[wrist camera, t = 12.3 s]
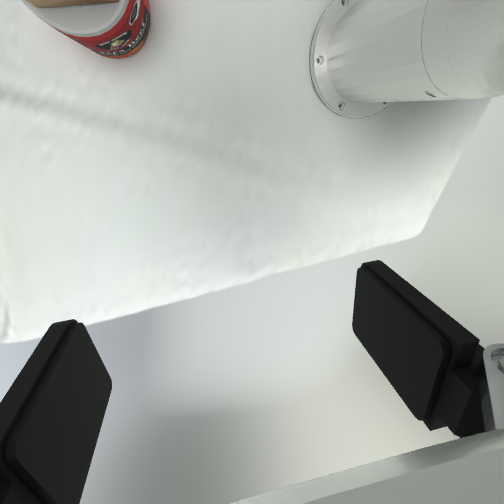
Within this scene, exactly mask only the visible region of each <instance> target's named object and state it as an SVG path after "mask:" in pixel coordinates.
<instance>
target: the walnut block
mask: <svg viewBox="0 0 504 504" xmlns="http://www.w3.org/2000/svg"><path fill="white" fill-rule="evenodd" d="M26 1H27V2H29V3H30V4H32V5H34V6H35V7H37V8H45V7H58V6H72V5H86V4H99V3H113V2H119V0H26Z"/></svg>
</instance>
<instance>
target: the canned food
mask: <svg viewBox="0 0 504 504" xmlns="http://www.w3.org/2000/svg"><path fill="white" fill-rule="evenodd" d="M21 1H22V2H23V3H24V4H25V5H26V6H27V7H28V8H29V9H30V10H31V11H32V12H33V13H34V14H36V15H37V16H38V17H39V18H40V19H41V20H43V21H44V22H46V23H47V24H48V25H50V26H51V27H53V28H55V29H56V30H57V31H59V32H61V33H63V34H64V35H66V36H68V37H70V38H71V39H73V40H75V41H77V42H78V43H80V44H82V45H84V46H85V47H87V48H89V49H90V50H92V51H94V52H96V53H98V54H100V55H102V56H105V57H109V58H124V57H128V56H130V55H132V54H134V53H135V52H136V51H138V50H139V49H140V47H141V46H142V45H143V43H144V42H145V39H146V37H147V35H148V30H149V26H150V11H149V3H148V0H119V2H113V3H99V4H86V5H72V6H58V7H45V8H37V7H35V6H34V5H32V4H30V3H29V2H27V1H26V0H21Z"/></svg>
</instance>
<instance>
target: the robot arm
mask: <svg viewBox="0 0 504 504" xmlns="http://www.w3.org/2000/svg"><path fill="white" fill-rule="evenodd" d="M342 1H343V3H344V5H342ZM316 59H318V60H319V63H318V64H317V62H316ZM310 68H311V76H312V80H313V83H314V87H315V89H316V91H317V93H318V95H319V97H320V99H321V100H322V101H323V102H324V104H325V105H326V106H327V107H328V108H330V109H331V110H332V111H333V112H335V113H337V114H339V115H342V116H346V117H357V118H359V117H366V116H369V115H372V114H375V113H377V112H379V111H380V110H382V109H384V108H385V107H386V106H388V105H389V104H390V103H391V102H403V101H431V100H460V99H482V98H490V97H495V96H499V95H503V94H504V0H334V1H333V2H332V3H331V4H330V5H329V7H328V8H327V9H326V11H325V12H324V13H323V15H322V17H321V19H320V21H319V23H318V25H317V28H316V31H315V34H314V37H313V41H312V46H311V52H310ZM339 104H340V108H339ZM352 327H353V331H354V333H355V335H356V336H357V338H358V339H359V340H360V342H361V343H362V345H363V346H364V347H365V349H366V350H367V352H368V353H369V354H370V356H371V357H372V358H373V360H374V361H375V363H376V364H377V365H378V367H379V368H380V369H381V371H382V372H383V374H384V375H385V376H386V378H387V379H388V381H389V382H390V383H391V385H392V386H393V387H394V389H395V390H396V392H397V393H398V394H399V396H400V397H401V398H402V400H403V401H404V402H405V404H406V405H407V407H408V408H409V409H410V411H411V412H412V414H413V415H414V416H415V417H416V418H417V419H418V420H420V421H421V420H423V421H424V423H425V424H426V426H427V427H428V429H429V430H430V431H432V430H435V429H439V428H442V427H446V426H448V428H449V429H450V430H451V431H452V432H453V434H454V440H453V441H449V442H445V443H441V444H438V445H433V446H429V447H426V448H422V449H418V450H415V451H411V452H408V453H404V454H401V455H397V456H394V457H390V458H387V459H383V460H379V461H376V462H373V463H369V464H366V465H362V466H358V467H355V468H351V469H348V470H344V471H341V472H337V473H334V474H330V475H326V476H323V477H319V478H316V479H312V480H309V481H305V482H302V483H299V484H295V485H292V486H288V487H285V488H281V489H278V490H274V491H271V492H267V493H264V494H260V495H257V496H254V497H250V498H246V499H243V500H240V501H236V502H233V503H230V504H504V344H493V345H490V346H487V347H486V349H484V348H483V347H482V346H481V345H479V341H480V340H479V339H478V338H477V337H475V336H474V335H473V334H472V333H471V332H469V331H468V330H467V329H466V328H464V327H463V326H462V325H461V324H459V323H458V322H457V321H455V320H454V319H453V318H452V317H450V316H449V315H448V314H447V313H445V312H444V311H443V310H442V309H441V308H439V307H438V306H437V305H436V304H434V303H433V302H432V301H431V300H429V299H428V298H427V297H426V296H424V295H423V294H422V293H421V292H419V291H418V290H417V289H416V288H414V287H413V286H412V285H411V284H409V283H408V282H407V281H405V280H404V279H403V278H402V277H400V276H399V275H398V274H397V273H395V272H394V271H393V270H392V269H391V268H389V267H388V266H387V265H386V264H384V263H383V262H382V261H380V260H376V261H371V262H366V263H363V264H362V265H361V268H358V270H357V277H356V288H355V299H354V311H353V322H352ZM111 389H112V381H111V378H110V376H109V374H108V372H107V370H106V368H105V366H104V364H103V362H102V360H101V358H100V356H99V354H98V352H97V350H96V348H95V346H94V344H93V342H92V340H91V338H90V336H89V334H88V332H87V330H86V328H85V326H84V324H83V323H78V322H77V321H76V320H74V319H72V320H67V321H62V322H56V323H53V324H52V325H51V326H50V327H49V329H48V330H47V332H46V333H45V335H44V336H43V338H42V339H41V341H40V343H39V344H38V346H37V347H36V349H35V350H34V352H33V354H32V355H31V357H30V358H29V360H28V361H27V363H26V364H25V366H24V367H23V369H22V370H21V372H20V373H19V375H18V376H17V378H16V380H15V381H14V383H13V384H12V386H11V387H10V389H9V391H8V392H7V393H6V395H5V396H4V398H3V400H2V401H1V403H0V504H79V503H80V499H81V496H82V492H83V489H84V485H85V481H86V478H87V475H88V471H89V468H90V464H91V460H92V457H93V453H94V449H95V446H96V443H97V439H98V436H99V432H100V428H101V425H102V422H103V418H104V415H105V411H106V407H107V404H108V401H109V397H110V393H111Z"/></svg>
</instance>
